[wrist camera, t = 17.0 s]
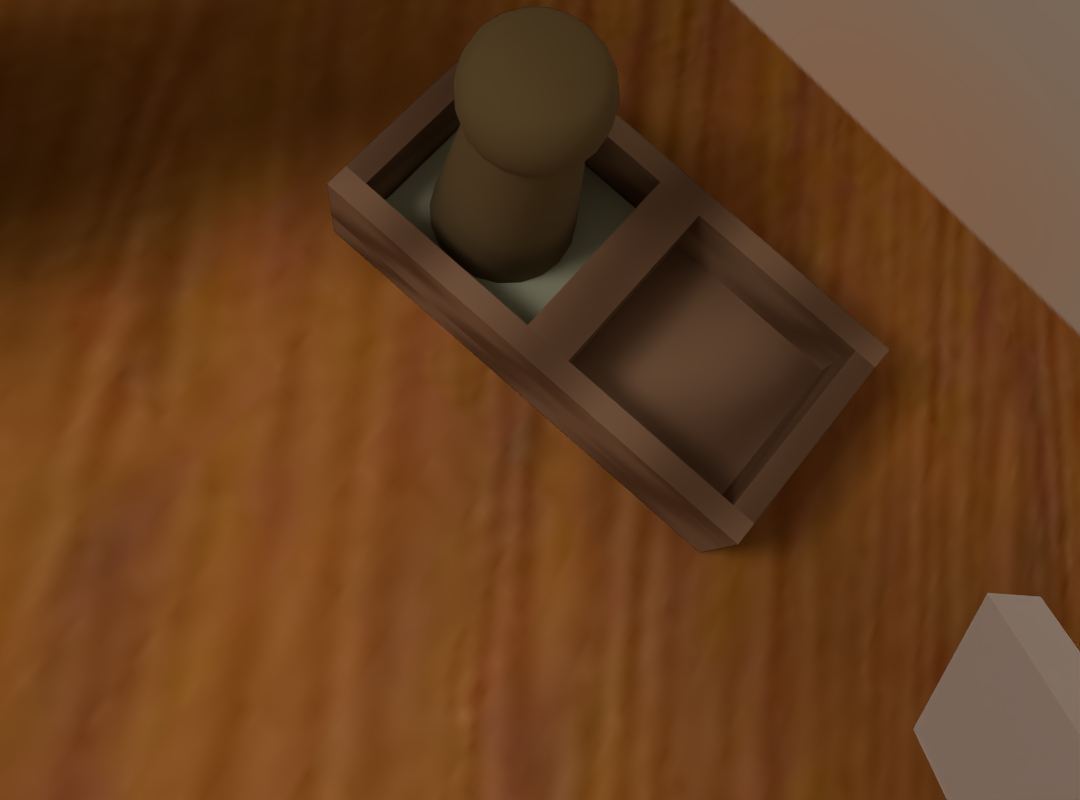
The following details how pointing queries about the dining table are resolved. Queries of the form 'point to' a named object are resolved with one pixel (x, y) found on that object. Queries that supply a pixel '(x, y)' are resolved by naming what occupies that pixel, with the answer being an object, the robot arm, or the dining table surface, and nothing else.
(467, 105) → the cork
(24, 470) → the dining table surface
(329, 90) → the dining table surface
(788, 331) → the stand
